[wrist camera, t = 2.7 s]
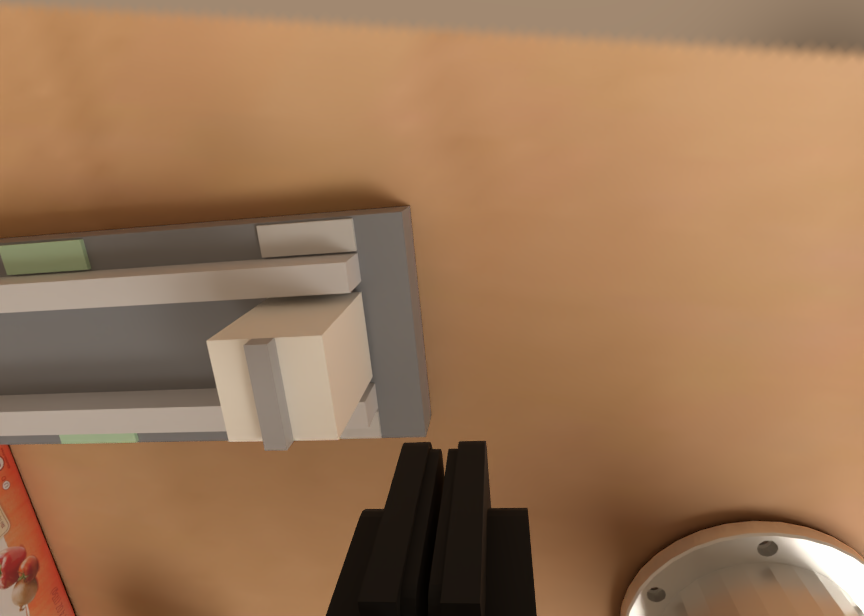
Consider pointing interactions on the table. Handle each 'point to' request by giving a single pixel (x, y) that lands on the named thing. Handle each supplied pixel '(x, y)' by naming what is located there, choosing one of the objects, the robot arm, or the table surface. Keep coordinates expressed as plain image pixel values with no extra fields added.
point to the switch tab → (292, 369)
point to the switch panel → (193, 322)
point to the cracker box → (25, 553)
